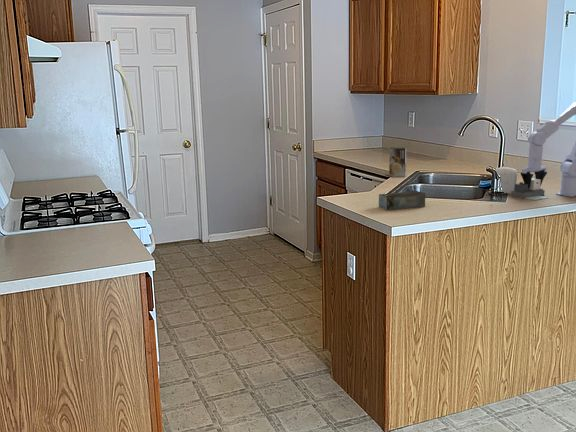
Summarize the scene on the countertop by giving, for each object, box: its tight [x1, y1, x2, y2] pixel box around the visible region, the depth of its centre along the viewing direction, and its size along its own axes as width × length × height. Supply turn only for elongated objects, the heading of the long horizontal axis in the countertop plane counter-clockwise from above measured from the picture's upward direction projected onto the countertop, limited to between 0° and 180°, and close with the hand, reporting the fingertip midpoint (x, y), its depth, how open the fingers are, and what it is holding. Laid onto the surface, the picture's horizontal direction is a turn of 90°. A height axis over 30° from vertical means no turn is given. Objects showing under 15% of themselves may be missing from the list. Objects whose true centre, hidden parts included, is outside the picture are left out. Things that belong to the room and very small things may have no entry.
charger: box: [529, 177, 541, 190], centre depth 266 cm, size 4×5×5 cm
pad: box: [524, 195, 549, 201], centre depth 260 cm, size 9×5×1 cm, turn 119°
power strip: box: [510, 181, 546, 200], centre depth 265 cm, size 14×7×7 cm, turn 119°
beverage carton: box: [378, 190, 426, 211], centre depth 246 cm, size 8×19×7 cm, turn 109°
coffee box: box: [388, 146, 407, 178], centre depth 324 cm, size 9×6×16 cm
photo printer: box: [494, 166, 518, 195], centre depth 272 cm, size 10×4×12 cm, turn 60°
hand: (532, 187), depth 267 cm, fingers open, 7 cm apart
